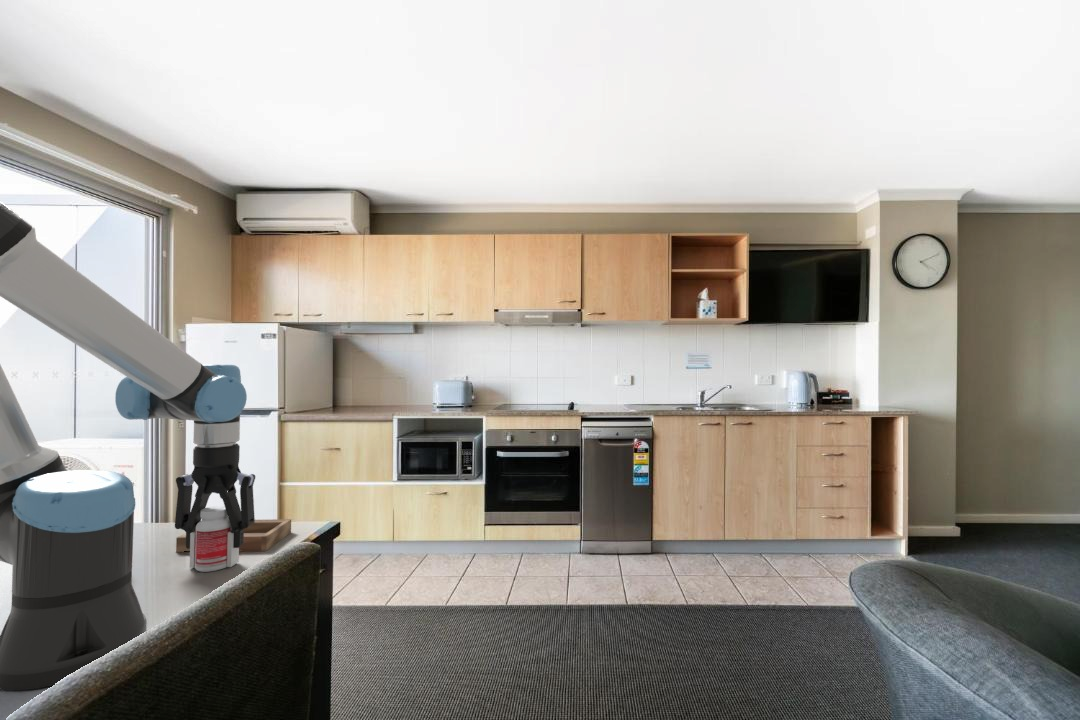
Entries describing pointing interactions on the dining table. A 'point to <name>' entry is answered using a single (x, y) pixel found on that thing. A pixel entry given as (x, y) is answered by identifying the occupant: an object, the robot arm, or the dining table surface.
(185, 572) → the dining table surface
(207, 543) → the pill bottle
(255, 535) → the socket block
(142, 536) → the dining table surface
